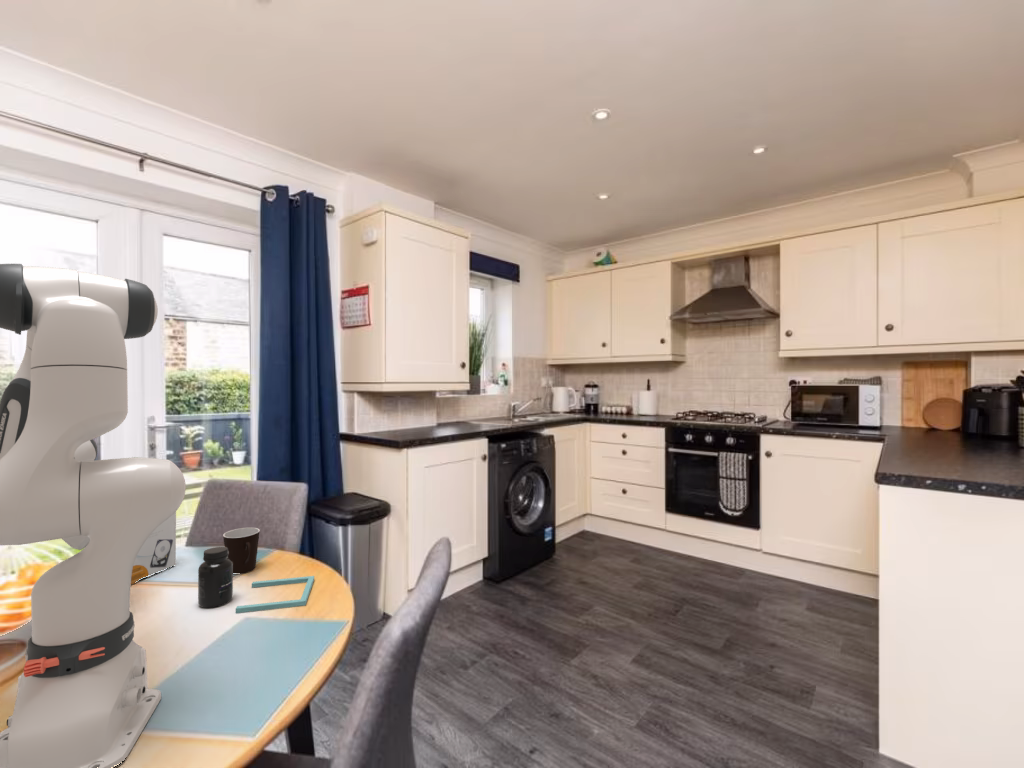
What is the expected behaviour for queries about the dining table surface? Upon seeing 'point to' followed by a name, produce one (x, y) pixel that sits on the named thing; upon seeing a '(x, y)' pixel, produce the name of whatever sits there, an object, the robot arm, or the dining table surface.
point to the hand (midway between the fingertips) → (129, 543)
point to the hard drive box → (156, 551)
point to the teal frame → (283, 603)
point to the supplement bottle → (215, 578)
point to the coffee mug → (242, 548)
